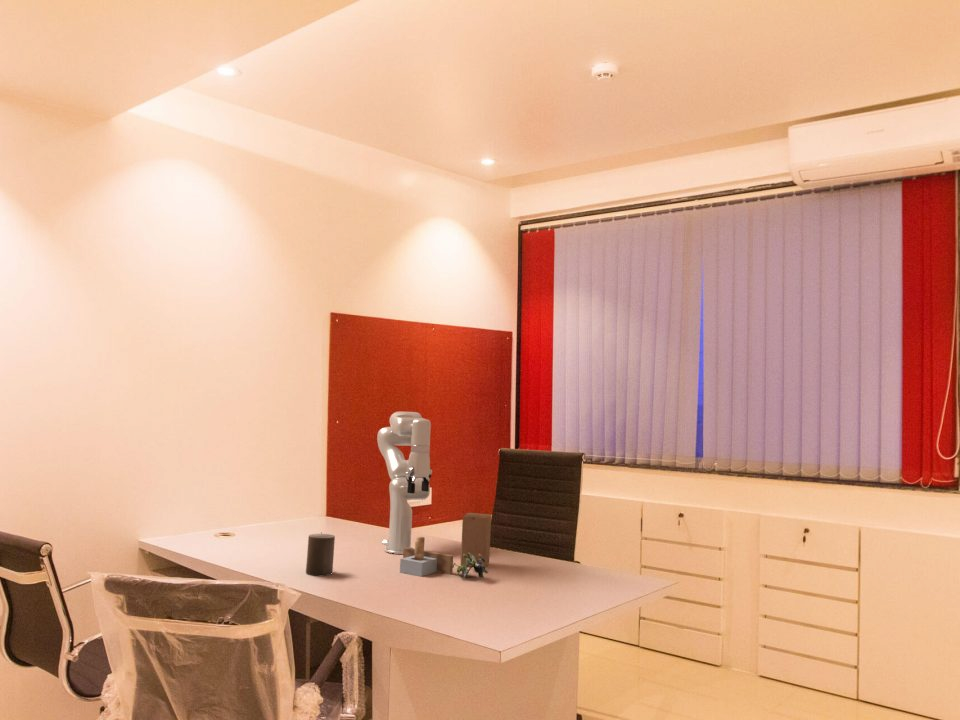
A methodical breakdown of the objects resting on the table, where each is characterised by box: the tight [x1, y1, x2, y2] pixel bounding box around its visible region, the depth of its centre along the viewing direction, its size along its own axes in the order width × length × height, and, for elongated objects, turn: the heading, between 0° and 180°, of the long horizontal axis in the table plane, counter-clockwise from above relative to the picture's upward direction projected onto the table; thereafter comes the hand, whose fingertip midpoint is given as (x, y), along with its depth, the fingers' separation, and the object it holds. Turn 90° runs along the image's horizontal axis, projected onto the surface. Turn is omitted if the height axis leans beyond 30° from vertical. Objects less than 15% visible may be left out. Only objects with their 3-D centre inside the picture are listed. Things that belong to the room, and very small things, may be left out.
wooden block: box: [459, 512, 492, 568], centre depth 311 cm, size 10×10×20 cm
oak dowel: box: [414, 536, 425, 561], centre depth 293 cm, size 4×4×12 cm
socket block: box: [399, 555, 437, 577], centre depth 292 cm, size 10×10×5 cm
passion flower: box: [452, 553, 489, 580], centre depth 287 cm, size 11×11×12 cm
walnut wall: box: [402, 547, 454, 575], centre depth 297 cm, size 22×2×7 cm, turn 59°
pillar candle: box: [305, 532, 336, 576], centre depth 285 cm, size 10×10×15 cm
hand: (418, 492), depth 310 cm, fingers open, 9 cm apart
